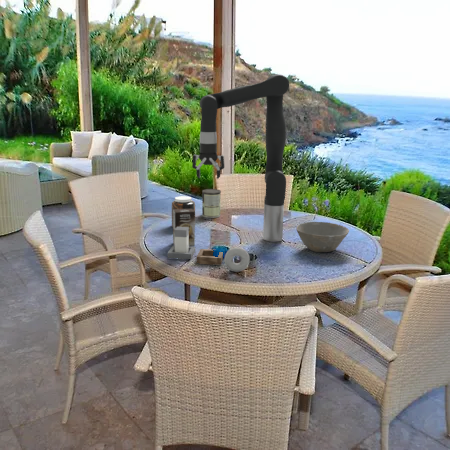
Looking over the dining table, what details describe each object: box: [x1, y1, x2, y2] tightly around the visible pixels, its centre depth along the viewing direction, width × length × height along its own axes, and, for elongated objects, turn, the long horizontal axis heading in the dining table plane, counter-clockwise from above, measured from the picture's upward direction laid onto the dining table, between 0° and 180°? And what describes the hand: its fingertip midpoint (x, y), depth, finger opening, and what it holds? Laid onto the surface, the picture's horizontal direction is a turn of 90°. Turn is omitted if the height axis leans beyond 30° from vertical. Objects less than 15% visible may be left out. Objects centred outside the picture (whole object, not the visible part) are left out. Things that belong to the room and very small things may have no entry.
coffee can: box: [201, 188, 222, 219], centre depth 275 cm, size 10×10×14 cm
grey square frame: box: [167, 245, 196, 260], centre depth 212 cm, size 10×10×2 cm
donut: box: [223, 246, 251, 273], centre depth 194 cm, size 10×4×10 cm, turn 91°
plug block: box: [174, 227, 189, 253], centre depth 211 cm, size 5×5×12 cm
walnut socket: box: [196, 248, 224, 266], centre depth 207 cm, size 10×10×3 cm
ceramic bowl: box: [296, 221, 350, 253], centre depth 222 cm, size 22×23×10 cm
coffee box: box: [172, 209, 196, 247], centre depth 225 cm, size 9×6×16 cm
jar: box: [171, 195, 196, 228], centre depth 253 cm, size 12×12×15 cm
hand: (208, 178), depth 224 cm, fingers open, 8 cm apart
